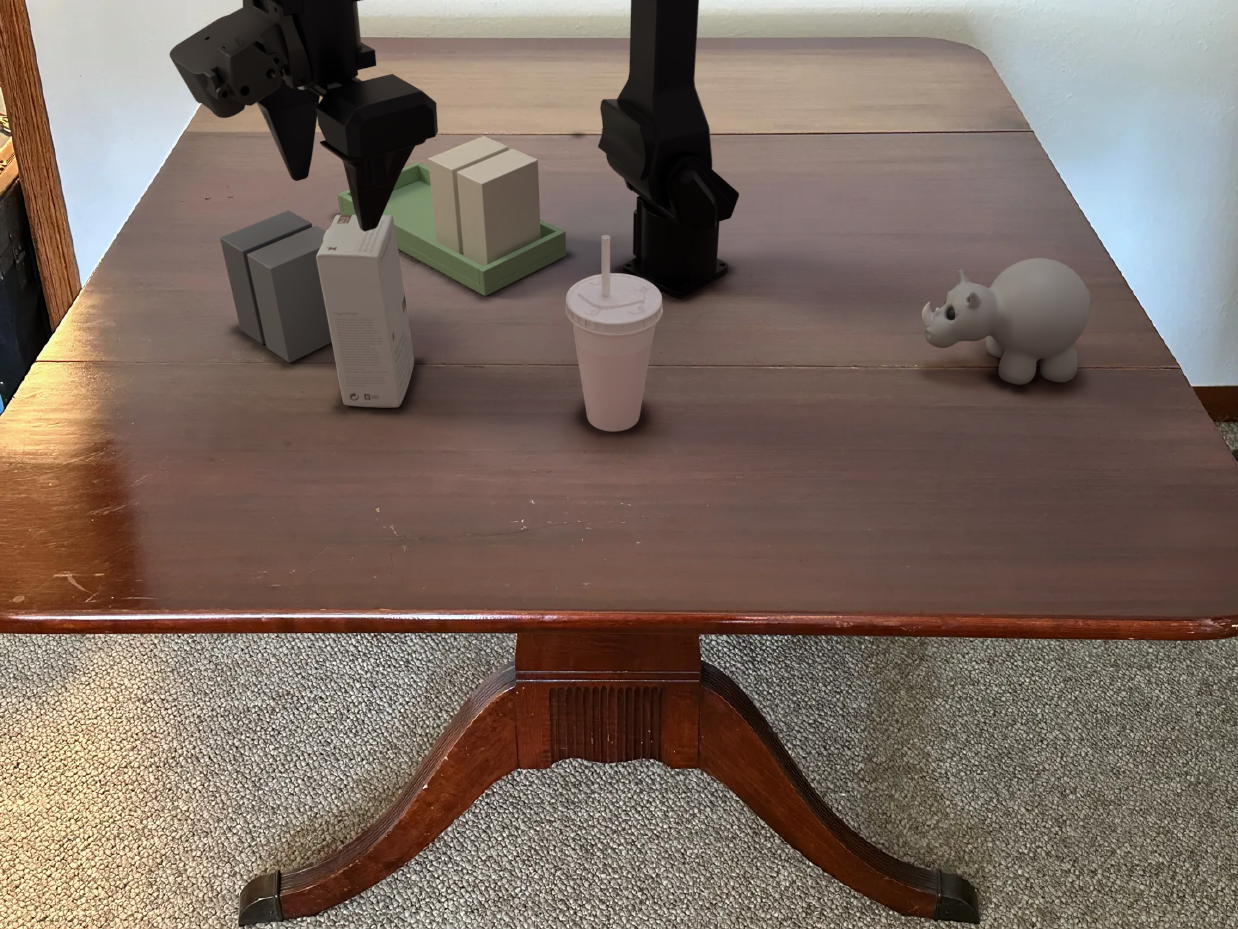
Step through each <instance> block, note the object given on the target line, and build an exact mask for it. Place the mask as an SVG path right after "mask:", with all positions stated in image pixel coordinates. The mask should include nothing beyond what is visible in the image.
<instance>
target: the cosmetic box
mask: <svg viewBox="0 0 1238 929" xmlns="http://www.w3.org/2000/svg"><path fill="white" fill-rule="evenodd" d="M325 231H326V233H325V234H324V237H323V243H322V245H321V247H320V249H319V251H318V253H317V256H316V259H317V265H318V270H319V276H320V281H321V287H322V292H323V297H324V302H325V307H326V313H327V318H328V323H329V329H330V334H331V340H332V343H331V345H332V350H333V356H334V361H335V367H336V372H337V379H338V383H339V388H340V393H341V398H342V403H343V405H345V406H351V407H359V408H360V407H361V408H399V407H400V406H401V405H402V402H403V401H404V398H405V396H406V393H407V390H408V388H409V385H410V381H411V378H412V374H413V370H414V366H415V354H414V350H413V342H412V334H411V328H410V322H409V314H408V308H407V301H406V300H407V299H406V293H405V287H404V280H403V272H402V266H401V260H400V253H399V249H398V247H397V241H396V235H395V228H394V220H393V216H391V215H382V217H381V220H380V222H379V224H378V226H377V228H375V229H372V230H369V231H366V232H365V231H363V230H361V229H360V227H359V224H358V220H357V217H356V215H340V214H336V215H335V216H334V218H333V220H332V222H331V225H330V227H329V228H328V229H327V230H325Z"/></svg>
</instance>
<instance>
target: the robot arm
mask: <svg viewBox="0 0 1238 929" xmlns="http://www.w3.org/2000/svg"><path fill="white" fill-rule="evenodd" d="M362 1H363V0H242V7H240V8H239V9H237V10H235V11H233V12H232V13H229V14H227V15H223V16H220V17H219V18H217V19H216V20H214V21H212V22H210V23H209V24H207V25H206V26H204V27H202V28H201V29H199V30H198V31H196V32H195V33H193V34H192V35H190V36H188V37H187V38H185V39H184V40H182V41H180V42H179V43H177V44H176V45H175V46H174V47H172V49H171V50H170V51H169V53H168V54H169V58H170V60H171V61H172V63H173V64H174V67H175V68H176V70H177V72H178V73H179V75H180V77H181V78H182V80H183V82H184V83H185V85H186V87H187V88H188V91H189V92H190V94H191V95H192V97H193V99H194V100H195V102H197V103H198V104H201V105H203V106H204V107H206V108H207V109H209V110H210V111H211V112H212V114H214V115H215V116H216V117H217V118H220V119H228V118H231V117H234V116H236V115H238V114H240V113H241V112H243V111H244V110H245V108H246V106H249V107H252V106H254V105H255V104H257V106H258V108H259V110H260V113H261V115H262V117H263V119H264V121H265V123H266V125H267V127H268V130H269V132H270V134H271V136H272V138H273V140H274V143H275V145H276V147H277V149H278V152H279V154H280V156H281V158H282V161H283V163H284V165H285V168H286V169H287V172H288V174H289V177H290V179H292V180H293V181H294V182H299V181H302V180H307V179H308V178H309V175H310V174H309V173H310V170H311V169H310V168H311V164H312V160H313V151H314V145H315V137H316V130H317V129H316V128H317V126H318V128H319V129H320V132H321V134H322V135H323V138H324V140H321V141H319V143H320V145H321V147H323V148H325V149H326V150H327V151H329V152H330V153H332V154H333V155H334V156H336V157H337V158H339V159H340V160H341V162H342V163H343V166H344V167H343V168H344V173H345V175H346V180H347V184H348V190H349V189H350V193H351V197H352V202H353V206H354V210H355V214H356V217H357V220H358V224H359V227H360V229H361V230H363V231H365V232H366V231H369V230H372V229H375V228H377V226H378V224H379V222H380V220H381V217H382V215H383V213H384V210H385V208H386V206H387V203H388V201H389V199H390V196H391V194H392V192H393V189H394V187H395V185H396V182H397V180H398V178H399V176H400V174H401V172H402V170H403V168H404V167H406V164H407V162H408V161H409V159H410V157H411V156H412V153H413V151H414V150H415V147H418V146H420V145H423V144H425V143H426V141H427V140H428V139H429V140H430V139H433V138H435V137H436V136H437V134H438V132H439V127H438V126H439V124H438V111H437V110H438V109H437V101H435V100H434V99H433V98H432V97H431V96H429V95H428V94H426V92H425V91H423V90H422V89H421V88H418V87H416V86H414V85H413V84H411V83H410V82H408V81H406V80H404V79H402V78H400V77H399V76H397V75H396V74H394V73H390V74H386V75H381V76H377V77H373V78H370V79H365V80H362V79H360V78H359V77H358V76H359V71H361V70H365V69H369V68H373V67H377V56H376V55H377V54H376V49H374V48H373V47H370V46H369V45H367V44H365V43H364V42H362V38H361V27H360V17H359V7H358V2H362ZM699 6H700V0H630V25H629V26H630V27H629V29H630V30H629V66H628V68H629V71H628V78H627V80H626V83H624V86H623V87H622V89H621V90H620V93H619V94H618V96H617V98H604V99H601V101H600V105H599V106H600V108H599V109H600V115H601V124H602V128H601V135H600V136H601V137H600V139H599V142H598V145H597V147H598V149H600V150H601V151H602V152H603V153H604V154H605V156H606V161H607V163H608V165H609V167H610V168H611V169H612V170H613V171H614V172H615V173H616V174H617V175H618V176H620V177H621V178H622V179H623V180H624V183H625V186H626V188H627V189H628V190H629V191H630V192H633V193H635V194H637V196H636V209H635V210H634V211H633V213H632V214H633V217H632V218H633V220H632V222H633V223H632V255H633V256H634V258H632V259H630V260H628V261H627V262H624V263H623V264H622V272H623V273H624V274H628V275H633V276H637V277H640V278H643V279H645V280H647V281H649V282H651V283H652V284H653V285H654V286H656V287H657V288H658V290H659V291H660V290H661V291H662V292H665V293H667V294H669V295H671V296H672V297H675V298H683V297H685V296H687V295H688V294H690V293H692V292H694V291H696V290H697V289H699V288H700V287H703V286H704V285H705V284H707V283H709V282H711V281H712V280H714V279H716V278H717V277H718V278H719V276H722V275H723V274H725V273H726V272H728V271H729V263H728V262H726V261H723V260H721V259H719V258H718V254H719V253H718V252H719V251H718V250H719V237H720V235H719V234H720V222H722V221H726V220H729V219H731V218H732V216H733V214H734V210H735V208H736V205H737V203H738V200H739V198H740V193H739V191H737V190H736V188H735V187H733V186H732V185H731V184H730V183H729V182H728V181H727V180H725V179H724V178H723V177H722V176H721V175H719V174H718V173H717V172H716V171H715V170H713V153H712V152H713V151H712V140H711V129H710V125H709V122H708V118H707V117H706V113H705V110H704V108H703V105H702V102H701V99H700V96H699V94H698V90H697V88H696V81H695V77H696V76H695V74H696V59H697V45H698V44H697V41H698V26H699V25H698V24H699V10H700V9H699V8H700V7H699Z"/></svg>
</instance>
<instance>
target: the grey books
mask: <svg viewBox="0 0 1238 929" xmlns="http://www.w3.org/2000/svg"><path fill="white" fill-rule="evenodd" d="M326 231H327V230H325V229H324V228H322V227H320V226H318V225H314V226H313V223H312V222H311V221H309V220H307V219H305V218H303V217H302V216H300V215H298V214H296V213H294V212H293V211H291V210H289V209H288V210H285V211H283V212H281V213H278V214H276V215H273V216H270V217H268V218H265V219H263V220H261V221H258V222H255V223H253V224H250V225H248V226H245V227H243V228H240V229H238V230H235V231H233V232H230V233H228V234H226V235H223V236H221V237H219V240H220V245H221V249H222V253H223V258H224V262H225V268H226V271H227V276H228V280H229V284H230V289H231V294H232V297H233V298H232V299H233V302H234V307H235V312H236V315H237V319H238V324H239V329H240V331H241V332H243V333H244V334H246V335H247V336H249V337H251V338H252V339H253V340H254V341H256V342H258V343H259V344H260V345H265V347H266V349H269V350H270V351H271V352H272V353H274V354H276V356H278V357H280V358H281V359H282V360H284V361H286V362H287V363H289V364H290V363H293V362H294V361H296V360H298V359H301V358H302V357H304V356H305V357H306V356H307V355H309V354H311V353H313V352H315V351H317V350H319V349H321V348H323V347H325V346H327V345H329V344H332V340H331V334H330V329H329V323H328V318H327V313H326V307H325V302H324V297H323V292H322V287H321V281H320V276H319V270H318V265H317V259H316V256H317V253H318V251H319V249H320V247H321V245H322V243H323V237H324V234H325V233H326Z"/></svg>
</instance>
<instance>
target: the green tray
mask: <svg viewBox="0 0 1238 929" xmlns="http://www.w3.org/2000/svg"><path fill="white" fill-rule="evenodd" d="M337 202H338V208H339V215H356V214H355V210H354V206H353V202H352V197H351V193H350V189H349V188H348V189H347V190H344V191H341V192H339V193H337ZM383 215H391V216H393V220H394V228H395V235H396V241H397V247H398V250H400V251H401V252H403V253H405V254H407V255H408V256H410V257H412V258H414V259H416V260H418V261H420V262H422V263H423V264H425V265H427V266H429V267H431V268H433V270H437V271H438V272H440V273H442V274H443V275H445V276H447V277H449V278H451V279H453V280H455V281H457V282H458V283H461V284H462V285H464V286H466V287H467V288H469V289H471V290H473V291H475V292H477V293H479V294H480V295H482V296H484V297H487V296H488V295H491V294H493V293H495V292H496V291H499V290H501V289H502V288H504V287H506V286H509V285H510V284H512V283H514V282H517V281H518V280H520V279H522V278H524V277H526V276H528V275H530V274H532V273H534V272H536V271H539V270H540V269H542V268H544V267H547V266H548V265H550V264H552V263H554V262H556V261H558V260H560V259H562V258H564V257H566V256H567V231H566V230H564V229H562V228H559V227H558V226H556V225H553V224H551V223H549V222H547V221H545V220H543V219H541V218H540V230H541V239H539V240H537V241H535V242H533V243H531V244H529V245H527V246H525V247H523V248H521V249H519V250H517V251H515V252H513V253H510V254H508V255H506V256H504V257H502V258H500V259H498V260H496V261H494V262H492V263H490V264H488V265H486V266H482V265H480V264H478V263H477V262H475V261H473V260H471V259H469V258H467V257H465V256H463V255H461V254H459V253H458V252H456V251H454V250H452V249H450V248H448V247H446V246H444V245H442V244H440V243H439V242H437V241H436V234H435V224H434V214H433V204H432V193H431V183H430V173H429V164H425V163H423V162H421V161H419V160H418V161H415V162H414V163H411V164H408V165H405V166H404V168H403V170H402V172H401V174H400V176H399V178H398V180H397V182H396V185H395V187H394V189H393V192H392V194H391V196H390V199H389V201H388V203H387V206H386V208H385V210H384V213H383Z"/></svg>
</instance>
